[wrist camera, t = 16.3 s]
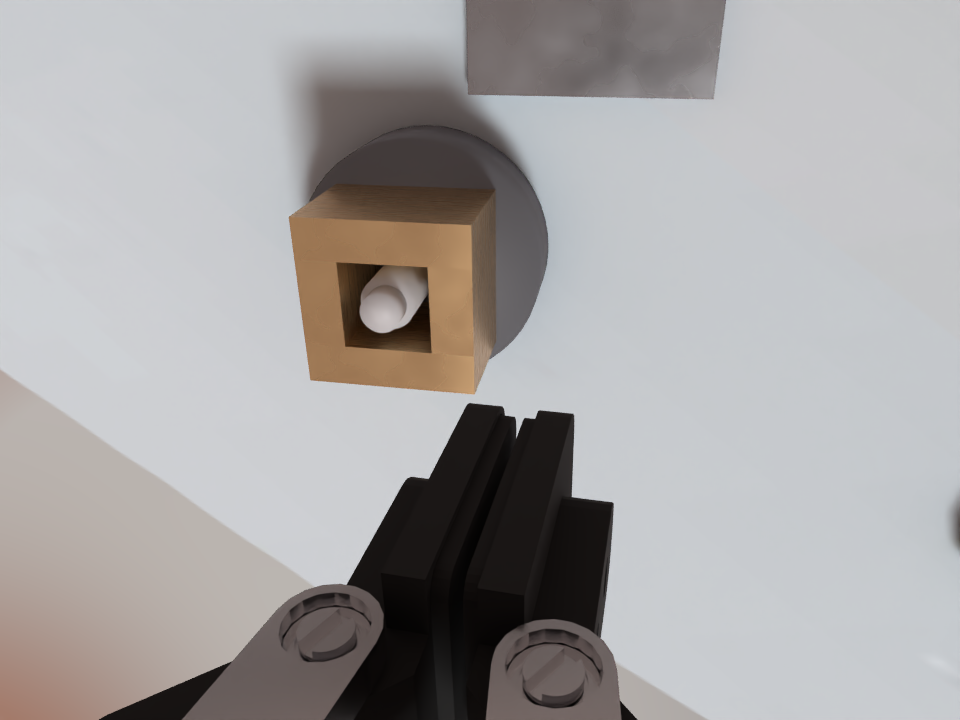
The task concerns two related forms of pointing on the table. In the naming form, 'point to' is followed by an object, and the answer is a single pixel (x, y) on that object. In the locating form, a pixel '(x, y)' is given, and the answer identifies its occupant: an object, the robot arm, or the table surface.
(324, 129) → the table surface
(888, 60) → the table surface
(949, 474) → the table surface
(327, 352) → the collar
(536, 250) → the hub
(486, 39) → the stand
